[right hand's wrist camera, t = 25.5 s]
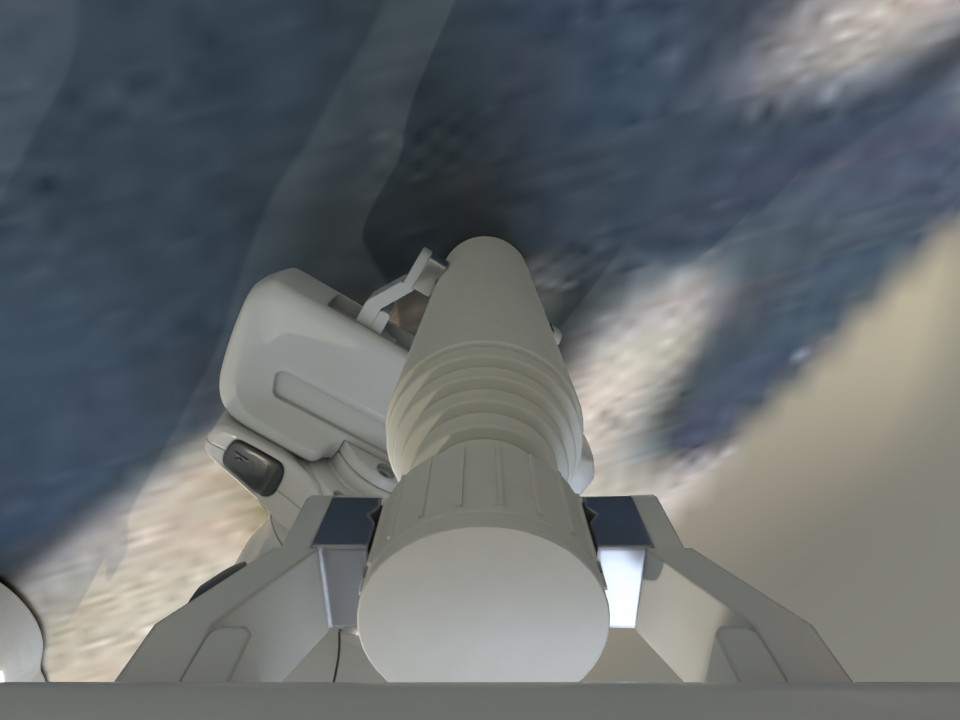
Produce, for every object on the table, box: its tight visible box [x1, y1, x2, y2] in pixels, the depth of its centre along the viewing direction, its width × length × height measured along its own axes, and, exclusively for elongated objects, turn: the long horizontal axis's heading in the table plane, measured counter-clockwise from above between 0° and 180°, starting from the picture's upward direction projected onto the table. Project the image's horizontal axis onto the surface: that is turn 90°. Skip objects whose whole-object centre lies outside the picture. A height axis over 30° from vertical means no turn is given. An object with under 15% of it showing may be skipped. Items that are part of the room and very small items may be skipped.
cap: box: [357, 445, 610, 682], centre depth 9 cm, size 4×4×2 cm
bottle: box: [386, 236, 583, 484], centre depth 20 cm, size 5×5×25 cm
